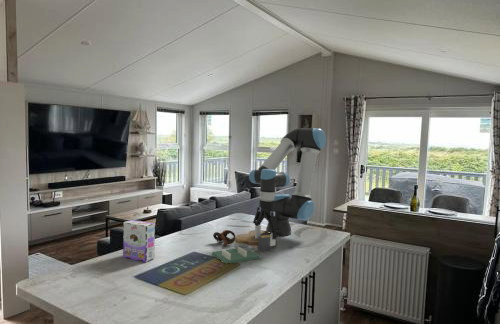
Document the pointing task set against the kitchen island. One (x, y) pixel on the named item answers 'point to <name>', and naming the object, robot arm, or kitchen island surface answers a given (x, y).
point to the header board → (236, 254)
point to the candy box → (138, 240)
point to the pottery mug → (224, 237)
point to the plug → (264, 243)
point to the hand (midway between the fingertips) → (264, 241)
